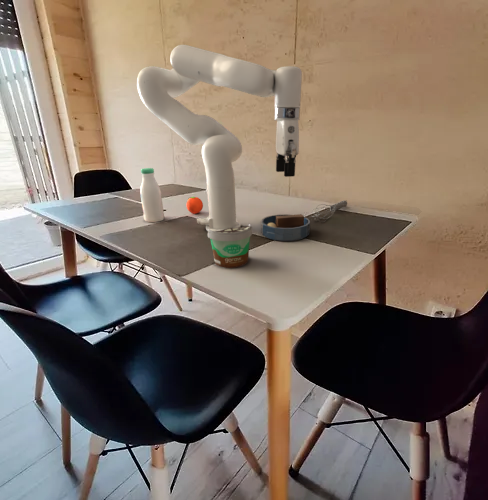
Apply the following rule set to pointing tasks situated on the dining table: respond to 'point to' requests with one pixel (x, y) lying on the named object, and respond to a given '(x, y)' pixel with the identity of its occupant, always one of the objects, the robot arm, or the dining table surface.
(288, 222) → the brown wooden block
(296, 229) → the bowl
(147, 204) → the milk bottle
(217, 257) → the food container
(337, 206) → the kitchen whisk
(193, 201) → the clementine
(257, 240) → the dining table surface
